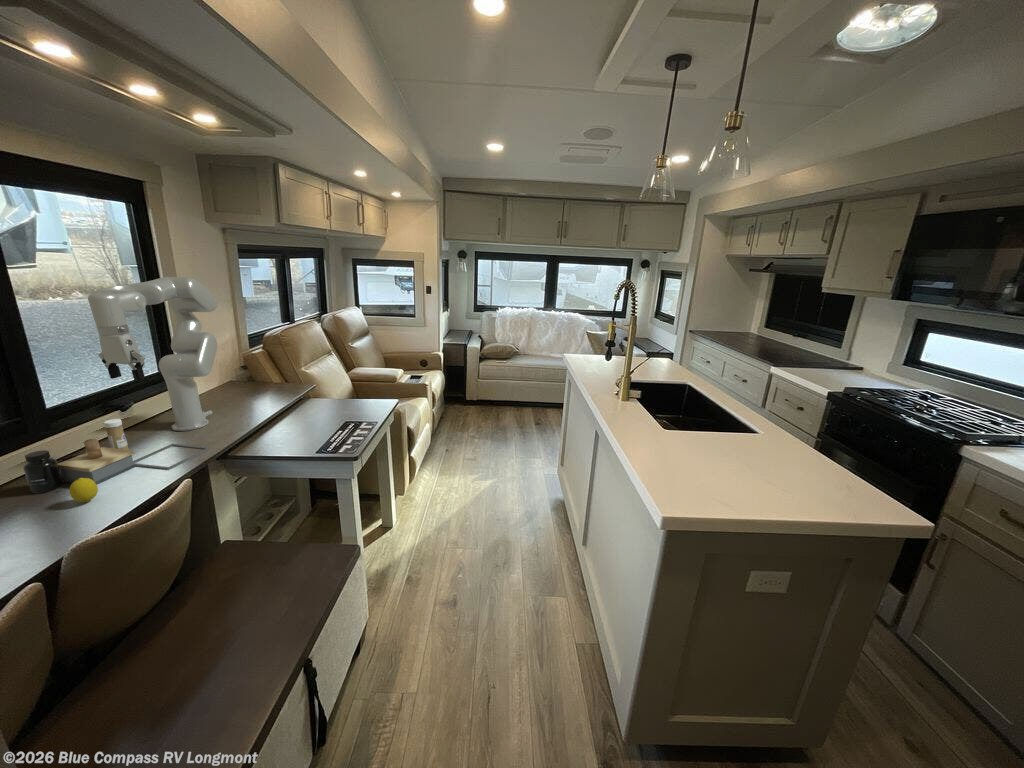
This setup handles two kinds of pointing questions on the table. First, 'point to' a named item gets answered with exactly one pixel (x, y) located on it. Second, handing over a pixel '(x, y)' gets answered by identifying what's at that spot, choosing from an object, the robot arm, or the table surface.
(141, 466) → the picture frame
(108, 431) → the sprinkles bottle
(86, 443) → the lid
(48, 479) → the supplement bottle
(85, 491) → the lemon
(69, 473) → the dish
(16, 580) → the table surface
